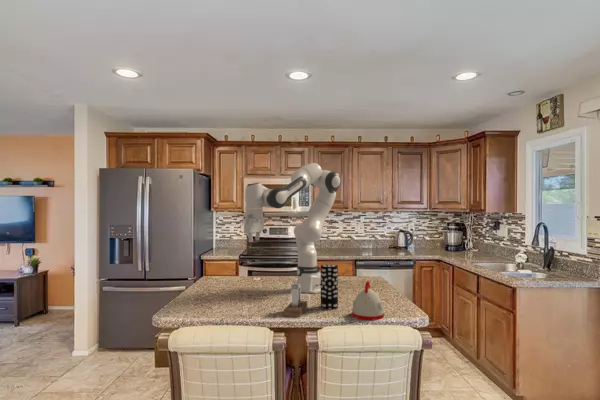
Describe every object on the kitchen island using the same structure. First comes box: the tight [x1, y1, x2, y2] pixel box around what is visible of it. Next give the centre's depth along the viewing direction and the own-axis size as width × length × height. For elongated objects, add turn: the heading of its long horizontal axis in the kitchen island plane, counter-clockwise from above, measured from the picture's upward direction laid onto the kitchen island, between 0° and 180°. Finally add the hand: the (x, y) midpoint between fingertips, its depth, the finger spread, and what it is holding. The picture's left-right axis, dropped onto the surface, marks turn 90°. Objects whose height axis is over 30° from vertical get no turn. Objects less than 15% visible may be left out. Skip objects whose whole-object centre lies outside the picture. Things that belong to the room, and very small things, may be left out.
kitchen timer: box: [351, 281, 385, 321], centre depth 161 cm, size 14×14×15 cm
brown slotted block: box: [283, 300, 308, 318], centre depth 167 cm, size 16×7×3 cm, turn 167°
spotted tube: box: [320, 263, 339, 310], centre depth 174 cm, size 8×8×20 cm
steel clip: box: [290, 281, 302, 308], centre depth 167 cm, size 6×3×13 cm, turn 168°
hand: (254, 241), depth 185 cm, fingers open, 8 cm apart
